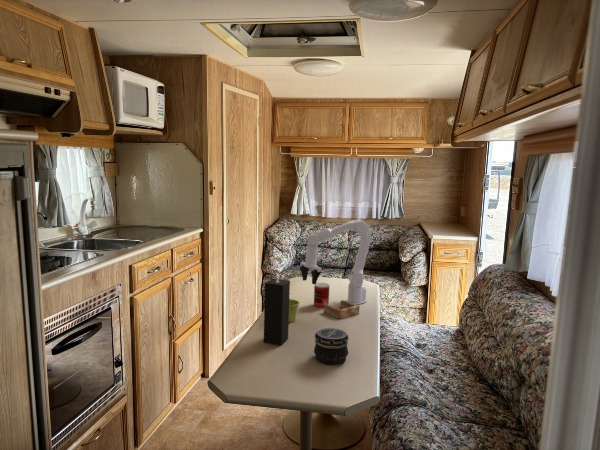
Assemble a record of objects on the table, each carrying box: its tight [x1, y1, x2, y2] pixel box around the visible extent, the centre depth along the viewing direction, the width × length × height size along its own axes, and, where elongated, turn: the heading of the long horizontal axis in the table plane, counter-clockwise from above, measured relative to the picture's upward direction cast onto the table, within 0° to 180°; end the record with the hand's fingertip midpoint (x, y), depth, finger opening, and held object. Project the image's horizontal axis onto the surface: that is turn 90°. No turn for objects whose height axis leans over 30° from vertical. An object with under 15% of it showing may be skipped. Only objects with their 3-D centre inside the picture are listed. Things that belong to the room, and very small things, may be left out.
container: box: [313, 327, 349, 366], centre depth 162 cm, size 13×13×10 cm
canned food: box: [313, 282, 330, 309], centre depth 224 cm, size 8×8×11 cm
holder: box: [323, 299, 360, 320], centre depth 213 cm, size 13×12×4 cm
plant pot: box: [289, 298, 300, 323], centre depth 201 cm, size 9×9×9 cm
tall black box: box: [263, 273, 291, 346], centre depth 175 cm, size 8×8×28 cm
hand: (309, 282), depth 229 cm, fingers open, 7 cm apart
